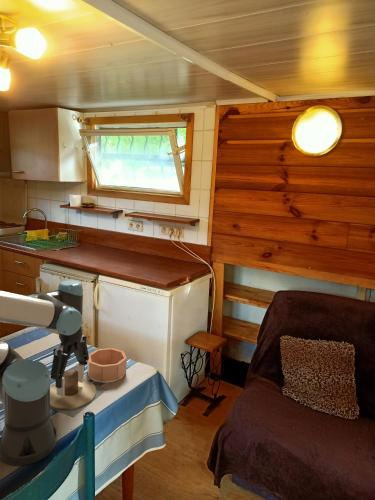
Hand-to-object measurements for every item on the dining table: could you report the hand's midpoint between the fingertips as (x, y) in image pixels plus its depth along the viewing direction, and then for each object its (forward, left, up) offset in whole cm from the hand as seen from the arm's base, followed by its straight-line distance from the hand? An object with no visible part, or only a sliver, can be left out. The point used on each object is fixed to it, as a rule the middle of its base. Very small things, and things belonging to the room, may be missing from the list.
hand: (70, 387), depth 128 cm
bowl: (+18, -2, -3) cm, 18 cm away
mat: (0, 0, -3) cm, 3 cm away
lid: (0, 0, -2) cm, 2 cm away
